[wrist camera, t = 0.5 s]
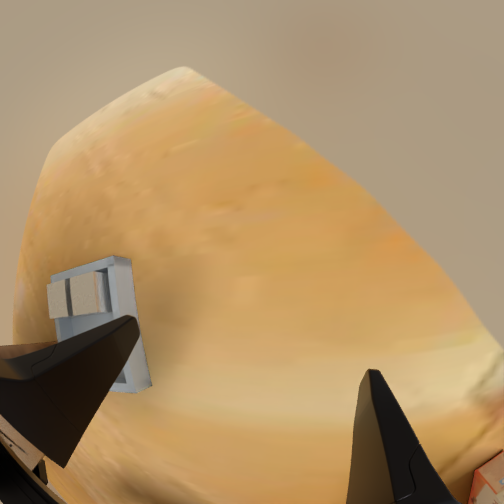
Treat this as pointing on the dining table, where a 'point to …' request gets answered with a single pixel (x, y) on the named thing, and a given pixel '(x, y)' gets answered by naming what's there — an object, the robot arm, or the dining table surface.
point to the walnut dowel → (21, 349)
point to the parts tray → (110, 318)
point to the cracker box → (489, 482)
